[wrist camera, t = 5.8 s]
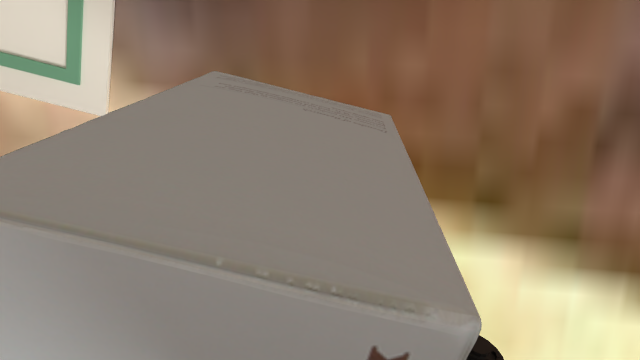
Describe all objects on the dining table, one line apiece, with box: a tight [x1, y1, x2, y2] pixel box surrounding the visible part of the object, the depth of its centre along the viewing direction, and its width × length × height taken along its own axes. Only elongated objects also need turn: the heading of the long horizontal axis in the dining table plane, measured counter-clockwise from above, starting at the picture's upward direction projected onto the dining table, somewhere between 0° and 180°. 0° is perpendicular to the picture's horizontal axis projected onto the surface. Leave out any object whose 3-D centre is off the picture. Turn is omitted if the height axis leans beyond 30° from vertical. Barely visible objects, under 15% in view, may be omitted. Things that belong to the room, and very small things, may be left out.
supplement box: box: [0, 71, 481, 360], centre depth 12 cm, size 7×7×13 cm
